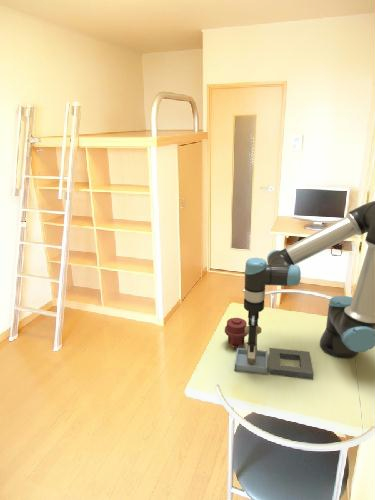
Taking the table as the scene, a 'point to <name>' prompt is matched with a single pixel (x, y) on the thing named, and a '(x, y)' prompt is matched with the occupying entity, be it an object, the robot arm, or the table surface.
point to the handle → (258, 331)
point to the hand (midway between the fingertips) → (251, 349)
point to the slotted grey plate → (290, 371)
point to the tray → (255, 368)
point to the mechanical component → (236, 331)
